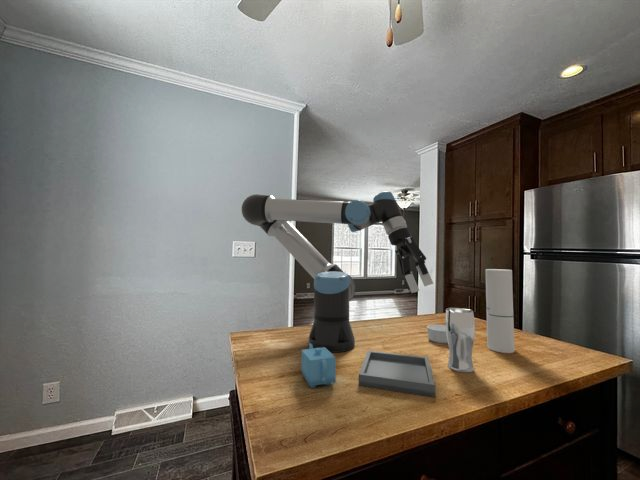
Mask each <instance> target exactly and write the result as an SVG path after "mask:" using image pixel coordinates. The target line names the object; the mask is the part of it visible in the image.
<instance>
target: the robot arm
mask: <svg viewBox="0 0 640 480" xmlns="http://www.w3.org/2000/svg"><path fill="white" fill-rule="evenodd" d="M372 201H373V203H371V204H367V203H366V202H364V201H363V200H360V199H355V200H351V201H342V200H341V201H338V200H337V201H336V200H335V201H334V200H315V199H314V200H313V199H293V198H291V199H289V198H275V196H273V195H267V194H265V195H264V194H251V195H249V196H247V197H246V198H245V199H244V201H243V203H242V205H241V214H242V217H243V218H244V220H245V221H246V222H247V223H248V224H251V225H253V226H257V227H260V229H261V230H262V231H264V232H265V233H266V235H267V236H268V237H274V238H275V239H276V240H277V241H278V242H279V243H280V245H282V246H283V248H284V249H286V251H287V252H289V254H290V255H291V256H292V257H293V258H294V259H295V260H296V261H297V263H299V265H300V266H301V267H303V269H304V270H305V272H307V273H308V275H310V277H311V278H312V279H313V323H312V325H311V329H310V332H309V335H308V344H309V343H311V344H312V345H313V348H322V347H325V348H326V349H327V350H328V351H330V352H331V353H342V352H347V351H350V350H352V349H354V348H355V344H356V342H355V339H356V338H355V335H354V332H353V329H352V326H351V323H350V302H351V301H352V299H353V298H354V296H355V294H356V284H355V280H354V278H353V277H352V276H351V275H350V274H348V273H347V272H345V271H343V270H342V269H341V268H340V267H339V265H337V264H336V263H330V262H329V261H328V260H327V259H326V257H324V256H323V255H322V253H320V251H318V250H317V248H315V246H313V244H312V243H311V242H310V241H309V240H308V239H307V238H306V237H305V236H304V235H303V234H302V233H301V232H300V231H299V230H298V229H297V228H296V226H294V225H293V224H292V222H305V223H307V222H308V223H324V224H326V223H327V224H339V225H340V224H341V225H347V227H348V228H349V230H350V232H351V233H356V232H359V231H360V232H361V231H362V230H364V229H366V228H368V227H372V226H374V225H377V224H380V223H381V222H382V226H383V229H384V231H385V234H386V235H388V236H387V237H388V240H389V244H390V245H392V246H397V249H395V250H394V252H395V254H396V257H397V258H396V259H397V262H398V265H399V269H400V274H401V276H404V277H405V280H406V282H407V285H408V287H409V289H410V292H411V294H413V293H417V292H420V289H419V286H418V283H417V281H416V280H415V276H414V273H413V271H411V264H410V259H411V260H412V262H413V263H414V266H415V267H416V270H417V272H418V275H419V277H420V280H421V282H422V284H423V286H424V287H428V286H431V285H433V284H435V283H434V282H433V279H432V277H431V274H430V273H429V270H428V268H427V266H426V261H427V257H426V256H425V254H424V253H423V251H422V250H421V249H420V248H419V246H418V245H417V243H416V242H415V240H414V238H413V237H412V234H411V232H410V229H409V228H408V225H407V221H406V220H405V219H404V217H403V214H402V211H401V209H400V206H399V204H398V201H397V200H396V198H395V196H394V194H393V193H392V192H391V191H388V190H387V191H386V190H385V191H381V192H380V193H378V194H376V195H375V196H374V197H373V198H372Z"/></svg>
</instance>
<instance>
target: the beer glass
mask: <svg viewBox="0 0 640 480" xmlns="http://www.w3.org/2000/svg"><path fill="white" fill-rule="evenodd" d="M474 315H475V314H474V311H473V310H472V309H468V308H461V307H448V308H446V309H445V321H444V324H445V325H444V326H445V327H446V335H447V341H448V343H447V344H448V349H449V350H448V351H449V355H448V361H447V367H448V368H449V369H450V370H452V371H455V372H458V373H466V374H468V373H474V363H473V357H472V356H473V348H474V342H475V336H476V335H475V334H476V325H475V324H476V323H475V316H474Z"/></svg>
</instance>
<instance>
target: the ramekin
mask: <svg viewBox="0 0 640 480" xmlns="http://www.w3.org/2000/svg"><path fill="white" fill-rule="evenodd" d="M426 329H427V334H428V335H427V336H428V339H429V340H430V341H431V342H434V343H438V344H448V341H447V335H446V327H445V325H444V324H429V325H426Z"/></svg>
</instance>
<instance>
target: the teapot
mask: <svg viewBox="0 0 640 480" xmlns="http://www.w3.org/2000/svg"><path fill="white" fill-rule="evenodd" d="M336 359H337V358H336V356H335V355H334V354H333V352H330V351H328V350H327V349H326V348H325V347H322V348H313V345H312V344H311V343H309V342H308V348H305V349H301V366H300V368H301V370H300V371H301V372H300V373H301V375H302V377H303V378H304V380H305V381H306V383H307V384H308V386H309V387H310V388H316V387H317V386H323V385H325V386H330V385H332V384H333V383H336V382H337V380H336V379H337V378H336V377H337V376H336V374H337V370H336V369H337V367H336V366H337V361H336Z"/></svg>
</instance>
